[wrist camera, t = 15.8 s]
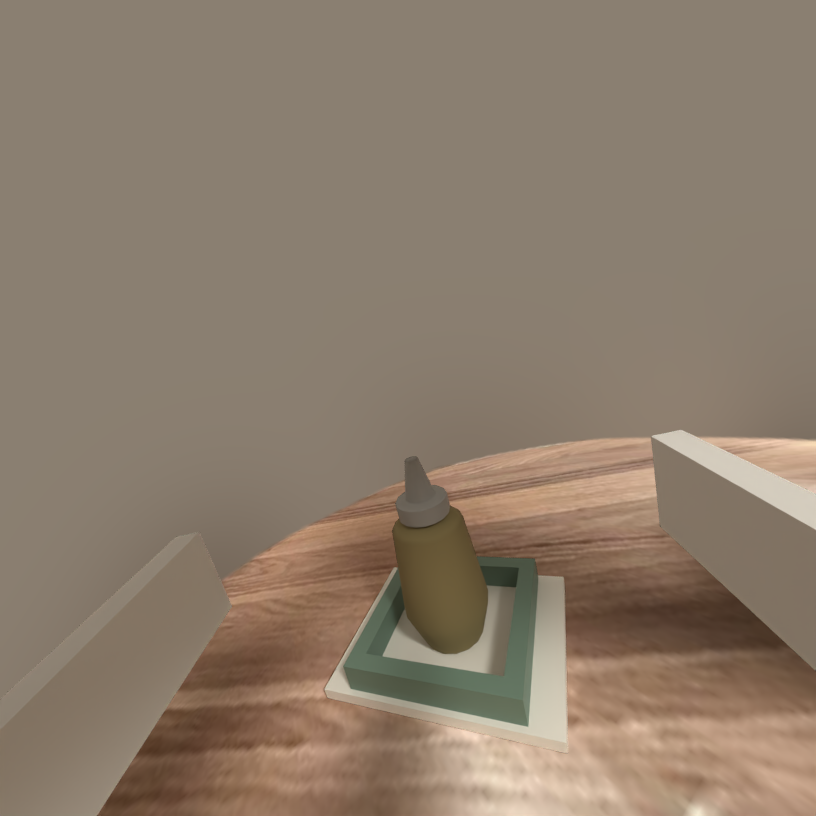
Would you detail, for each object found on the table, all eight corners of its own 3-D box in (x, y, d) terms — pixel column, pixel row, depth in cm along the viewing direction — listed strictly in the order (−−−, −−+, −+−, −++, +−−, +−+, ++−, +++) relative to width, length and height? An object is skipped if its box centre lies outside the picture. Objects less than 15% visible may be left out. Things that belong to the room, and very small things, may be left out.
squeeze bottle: (401, 620, 39) (355, 462, 35) (468, 586, 41) (433, 434, 37) (434, 684, 31) (381, 492, 27) (513, 638, 34) (475, 455, 30)
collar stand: (564, 584, 40) (560, 556, 39) (568, 753, 26) (561, 715, 25) (395, 573, 48) (389, 550, 47) (327, 697, 34) (316, 667, 33)
